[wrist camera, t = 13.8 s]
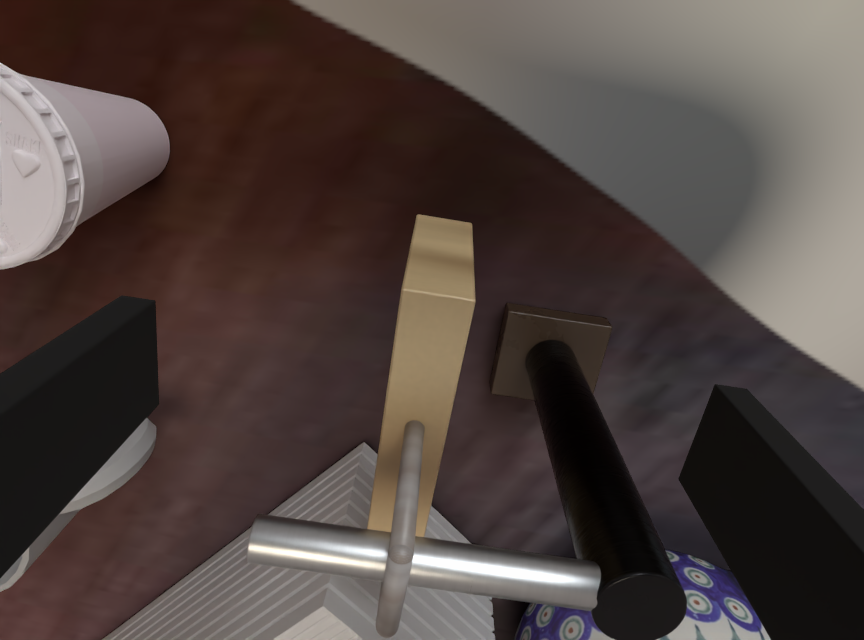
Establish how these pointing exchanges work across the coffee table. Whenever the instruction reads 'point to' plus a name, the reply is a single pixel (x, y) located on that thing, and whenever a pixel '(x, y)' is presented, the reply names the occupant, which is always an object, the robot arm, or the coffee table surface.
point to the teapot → (695, 636)
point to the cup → (91, 494)
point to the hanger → (420, 395)
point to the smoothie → (67, 159)
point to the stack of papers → (308, 584)
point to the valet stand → (578, 487)
